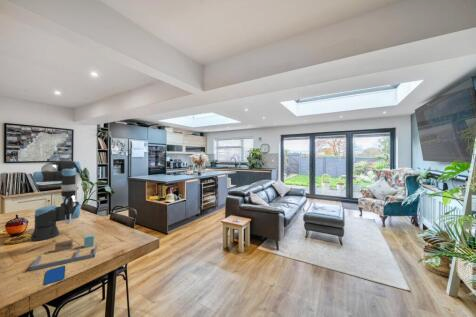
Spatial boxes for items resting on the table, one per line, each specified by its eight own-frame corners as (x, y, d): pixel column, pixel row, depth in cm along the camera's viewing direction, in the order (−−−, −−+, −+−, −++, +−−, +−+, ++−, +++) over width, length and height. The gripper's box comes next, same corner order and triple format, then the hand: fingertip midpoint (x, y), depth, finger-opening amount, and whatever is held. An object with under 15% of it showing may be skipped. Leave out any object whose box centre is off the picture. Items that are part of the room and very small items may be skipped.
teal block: (85, 245, 130) (85, 235, 130) (94, 243, 133) (94, 233, 133) (84, 248, 126) (84, 237, 126) (93, 246, 129) (93, 236, 129)
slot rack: (38, 259, 111) (38, 256, 111) (97, 247, 126) (97, 244, 126) (28, 271, 99) (28, 267, 99) (94, 257, 114) (94, 253, 114)
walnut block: (56, 249, 123) (56, 242, 123) (72, 246, 128) (72, 239, 128) (55, 252, 120) (55, 244, 120) (71, 249, 124) (71, 241, 125)
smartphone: (43, 285, 88) (46, 270, 99) (43, 287, 88) (46, 272, 99) (64, 278, 93) (65, 265, 104) (64, 280, 93) (65, 266, 104)
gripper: (64, 189, 137) (63, 221, 136) (58, 192, 125) (58, 227, 125) (77, 188, 141) (77, 219, 140) (73, 191, 129) (72, 225, 129)
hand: (68, 223), depth 133 cm, fingers closed
